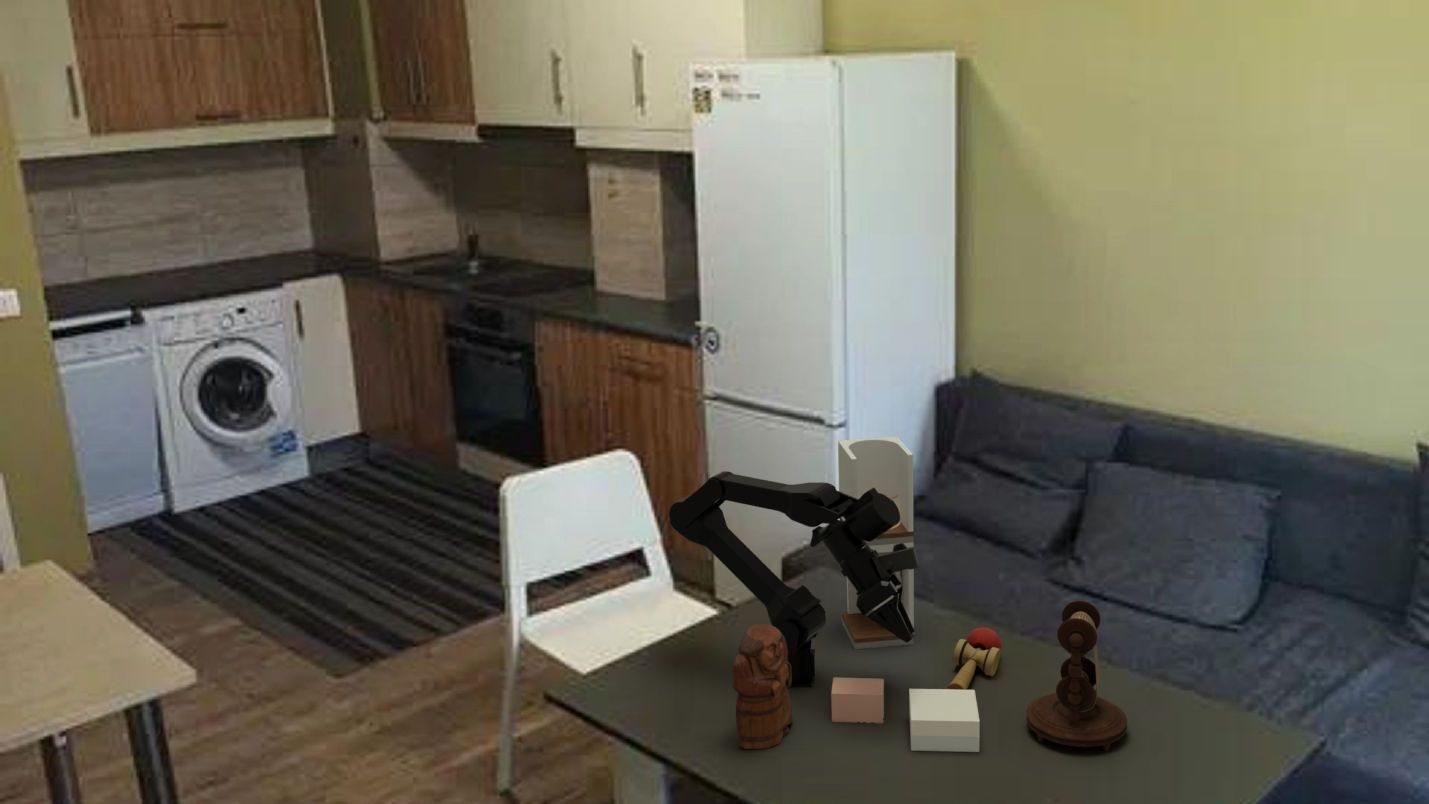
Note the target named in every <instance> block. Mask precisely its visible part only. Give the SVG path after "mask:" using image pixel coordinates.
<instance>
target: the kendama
mask: <svg viewBox="0 0 1429 804" xmlns="http://www.w3.org/2000/svg"><path fill="white" fill-rule="evenodd" d="M999 636H1000V635H999V634H998V633H997V632H996V631H994V630H993V629H992V628H989V627H977V628H975V629H973V630H971V632H969V633H968V635H967V637H966V638H965V639H963V638H960V639H959V640H958V641H957V643H956V645H955V648H954V651H953V657H952V658H953V659H952V660H953V661H952V662H953V664H955V665H957V666H961V665H963V664H964V665H963V666H962V667H961V668H960V669H959V671H958V673H957V674H956V675H955V676H954V678H953V679H952V681H951V682H950V683H949V684H948V686H947V689H955V690H969V686H970V684H971V681H972V679H973V676H974V675H975V671H976V667H977V666H978V667H979V668H980V669H981V670H982V671H983V673H984V674H985V676H989V677H993V676H995V674H996V672H997V669H998V668H999V667H998V666H999V665H1000V658H1001V650H1002V641H1001V637H999Z"/></svg>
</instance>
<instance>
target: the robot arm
mask: <svg viewBox="0 0 1429 804" xmlns="http://www.w3.org/2000/svg"><path fill="white" fill-rule="evenodd" d="M726 501H728V502H733V503H738V504H742V505H745V506H746V505H747V506H751V507H755V508H762V509H766V510H771V511H777V512H779V513H782V514H784V515H785V516H786V517H787V518H788V519H790V520H791V521H792V522H795V523H798V524H801V525H803V526H805V527H807V528H808V527H809V528H813V529H811V530H812V531H811V532H812V534H811V539H810V543H809V545H810V547H812V548H814V547H816V546H818V544H820V543H823V545H824V546H825V548H826V549H827V551H828V552H829V554H830V556H832V558H833V560H834V561H835V562H836V563H837V565H838V566H839V568H840V569H841V571H840V573H842V576H843V577H846V579H847V578H848V579H849V581H850V582H851V584H852V585H853V586H854V588H855V589H856V591H857V592H856V594H857V595H858V598H857V603H856V606H857V607H858V609H859V610H860V611H861V613H862V614H863V615H865V614H866V613H868V612H869V611H871V610H872V609H873V611H871V612H870V613H869V614H867V615H866V617H867V618H869V619H871V620H872V621H874V622H875V623H877V624H879V625H880V626H882V627H883V628H885V629H886V630H888V631H889V632H891V633H892V634H894V635H896V636H897V637H899V638H900V639H902V640H903V641H905V642H906V643H907V642H909V641H911V640H912V637H911V634H912V633H914V634H915V627H914V628H913V626H912V623H911V621H910V619H909V616H908V614H907V612H906V609H905V607H904V605H903V602H902V600H901V597H902V592H903V585H902V586H901V587H899V588H898V589H896V586H898V585H900V584H902V581H901V579H900V578H899V577H898V575H897V574H896V573H894V572H898V571H902V570H906V569H909V570H911V569H914V570H915V569H917V568H919V566H920V563H919V560H918V559H919V558H918V556H917V553H916V549H915V546H914V547H910V548H907V547H906V545H905V544H904V543H900V544H896V545H894V548H893V552H891V553H887V554H883V555H879V554H878V552H877V551H876V550H873V549H872V550H871V548H870V547H869V545H867V542H866V541H868V542H871V541H873V540H875V539H876V538H878V537H879V536H881V535H882V534H883V533H885V532H886V531H888V530H889V529H891V528H892V527H894V526H895V525H897V524H898V523H899V521H900V513H899V510H898V507H897V506H896V504H895V503H894V501H893V500H890V499H889V498H888V497H887V496H886V495H884V494H881V493H878V492H877V491H876V489H875V488H871V489H870V490H868V491H867V492H865V493H864V494H863V495H862V496H861V497H860V498H859V499H856V498H854V497H852V496H849V495H847V494H844V493H842V492H839V490H837V489H836V486H835V485H833V484H832V483H829V482H804V483H803V482H802V483H796V484H787V483H782V482H776V481H774V480H773V481H771V480H767V479H761V478H758V477H757V478H756V477H752V476H747V475H741V474H735V473H733V472H731V471H725V470H723V471H720V472H719V473H717V474H715V475H713V476H711V477H709V478H708V479H707V481H706V482H704V483H703V485H701V486H700V487H699V488H698V489H697V490H696V491H694V492H693V493H691V494H690V495H687V496H686V497H684V498H682V499H680V500H678V501H677V502H673V504H672V505H671V507H669V508H670V509H669V512H668V514H669V515H668V517H669V525H670V527H672V529H673V530H674V531H675V532H676V533H678V534H679V535H681V536H682V537H683V538H684V539H686V540H687V541H688V542H691V543H693V544H696V545H699V546H701V547H705V548H707V549H708V550H709V552H711V553H712V554H713V556H714V557H716V559H718V560H719V562H720V563H722V564H723V566H725V568H727V569H728V570H729V572H731V574H733V575H734V576H735V578H736V579H738V580H739V582H741V583H742V584H743V585H744V587H746V588H747V589H748V591H749V592H751V594H753V595H754V596H755V597H756V598H757V600H758V601H759V602H760V603H762V605H764V606H763V607H765V609H766V611H767V615H768V618H769V620H770V624H771V626H774V627H776V628H777V629H778V630H779V631H780V632H781V633H782V635H783V636H784V637H785V640H786V644H787V649H788V662H789V663H790V664H791V672H792V681H791V686H790V687H795V686H796V687H797V686H798V687H810V686H812V685H813V680H814V678H816V674H817V673H816V672H817V669H816V667H817V666H816V664H817V663H816V658H817V657H816V649H815V648H812V647H813V646H812V644H813V642H812V640H813V639H815V638H817V637H818V634H819V632H820V631H821V630H823V628H825V625H826V622H827V621H826V620H827V617H826V611H825V608H824V607H823V606H822V604H820V603H821V602H822V600H821V599H819V598H817V597H816V596H814V594H812V592H811V590H809V589H808V587H806V586H805V585H803V584H802V585H800V586H798V587H797V588H793V587H791V586H788V585H786V583H784V582H783V581H782V579H780V578H779V577H778V575H776V573H774V572H773V571H772V570H771V569H770V567H768V566H767V565H766V564H765V563H764V562H763V561H762V560H761V559H760V558H759V557H758V556H757V554H755V552H754V551H752V550H751V549H750V548H749V547H748V546H747V545H746V544H745V543H744V542H743V541H742V540H741V539H740V538H739V537H738V536H737V535H736V534H735V533H734V532H733V531H732V530H731V529H730V527H729V526H728V524H727V522H726V518H725V516H724V512H723V510H722V508H721V506H722V505H723V504H724V503H725V502H726ZM841 517H844V518H845V521H844V522H843V521H841V520H840V518H841ZM821 524H826V525H825V526H821ZM865 545H866V546H865ZM864 546H865V547H864ZM863 547H864V548H863Z"/></svg>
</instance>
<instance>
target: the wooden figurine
mask: <svg viewBox="0 0 1429 804" xmlns="http://www.w3.org/2000/svg"><path fill="white" fill-rule="evenodd" d="M739 641H740V642H739V645H738V653H737V655H736V656H735V659H734V660H733V664H732V688H733V689H734V691H735V692H736V693H737V694H738V695H737V697H736V703H735V723H736V724H735V725H736V732H737V736H738V742H739V745H740V747H741V748H742V749H745V750H762V749H768V748H772V747H774V746H777V745H779V744H781V743H782V741H783V738H784V737H785V736H786V735H787V734H788V733H789V731H790V728H789V725H790V724H792V723H793V710H792V705H791V698H790V694H789V689H790V687H792V686H791V681H792V672H791V664H790V663H789V662H788V649H787V644H786V640H785V637H784V636H783V635H782V633H781V632H780V631H779V630H778V629H777V628H776V627H774V626H772V624H771V625H770V624H766V623H760V624H759V623H758V624H755V625H752V626H751V627H749V628H748V629H747V630H746V631H745V632H744V634H742V637H741V639H740V640H739Z"/></svg>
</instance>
